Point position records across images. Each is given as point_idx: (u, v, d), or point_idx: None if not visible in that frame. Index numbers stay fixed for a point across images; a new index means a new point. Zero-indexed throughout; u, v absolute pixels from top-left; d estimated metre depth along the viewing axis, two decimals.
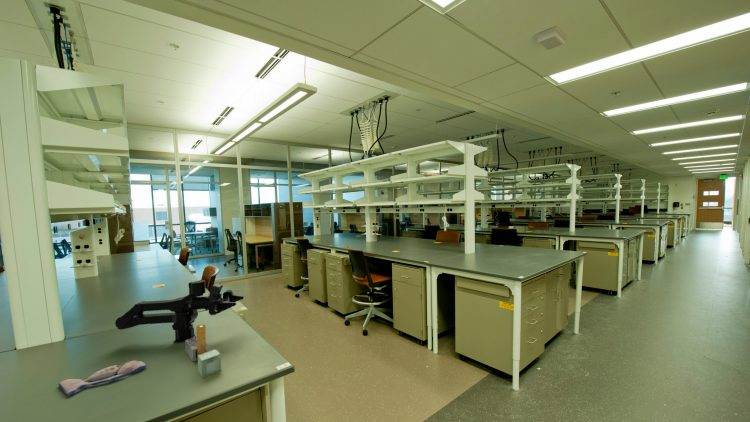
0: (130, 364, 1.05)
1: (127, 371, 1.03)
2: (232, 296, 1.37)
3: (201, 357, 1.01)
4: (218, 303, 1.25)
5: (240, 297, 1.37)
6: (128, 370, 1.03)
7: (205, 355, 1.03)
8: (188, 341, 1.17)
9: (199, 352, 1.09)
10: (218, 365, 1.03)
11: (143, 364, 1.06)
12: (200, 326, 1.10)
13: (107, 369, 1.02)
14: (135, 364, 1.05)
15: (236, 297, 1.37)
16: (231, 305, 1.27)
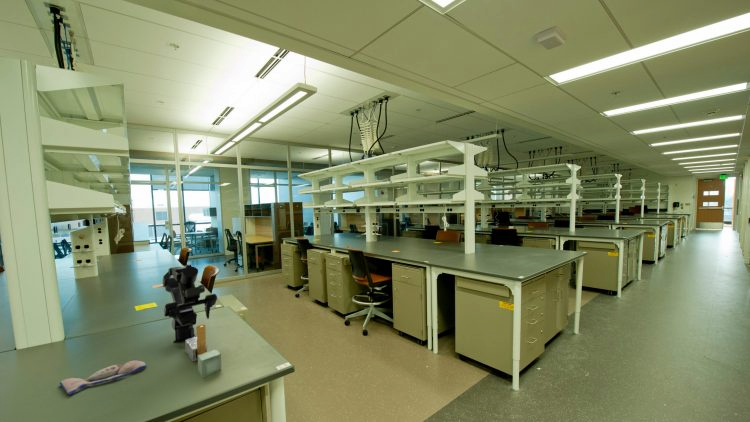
0: (131, 364, 1.05)
1: (127, 371, 1.03)
2: (206, 306, 1.21)
3: (201, 357, 1.01)
4: (172, 311, 1.13)
5: (207, 315, 1.19)
6: (128, 370, 1.03)
7: (205, 355, 1.03)
8: (188, 341, 1.17)
9: (199, 352, 1.09)
10: (218, 365, 1.03)
11: (143, 364, 1.06)
12: (200, 326, 1.10)
13: (108, 368, 1.02)
14: (135, 364, 1.05)
15: (206, 311, 1.21)
16: (179, 322, 1.13)
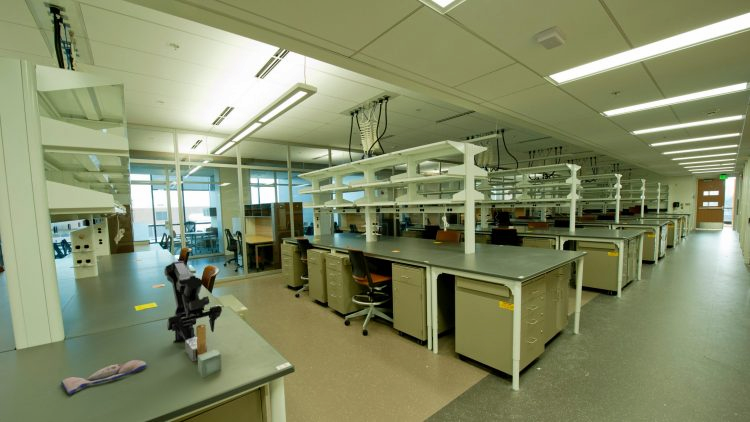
0: (131, 363, 1.05)
1: (128, 370, 1.03)
2: (211, 319, 1.17)
3: (201, 357, 1.01)
4: (175, 325, 1.08)
5: (211, 328, 1.15)
6: (129, 369, 1.03)
7: (205, 355, 1.03)
8: (188, 341, 1.17)
9: (199, 352, 1.09)
10: (218, 365, 1.03)
11: (144, 363, 1.06)
12: (200, 326, 1.10)
13: (108, 368, 1.03)
14: (135, 364, 1.05)
15: (211, 324, 1.16)
16: (183, 336, 1.08)
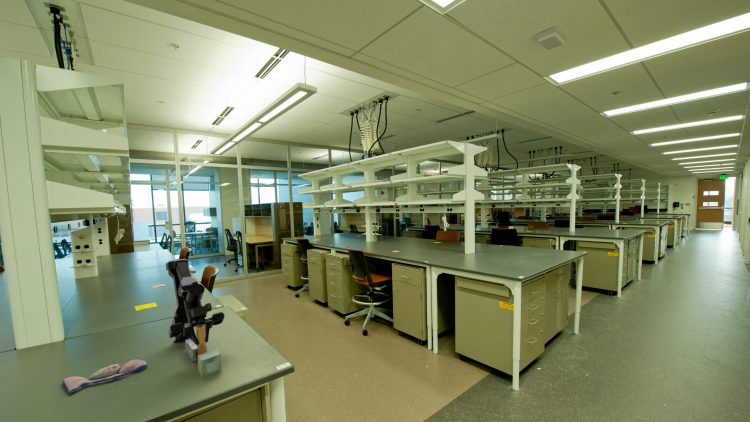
0: (132, 363, 1.06)
1: (128, 370, 1.03)
2: None
3: (201, 357, 1.01)
4: (186, 330, 1.08)
5: (206, 338, 1.11)
6: (129, 369, 1.04)
7: (205, 355, 1.03)
8: (188, 341, 1.17)
9: (199, 352, 1.09)
10: (218, 365, 1.03)
11: (144, 363, 1.06)
12: (200, 326, 1.10)
13: (109, 367, 1.03)
14: (136, 363, 1.06)
15: None
16: (194, 342, 1.08)
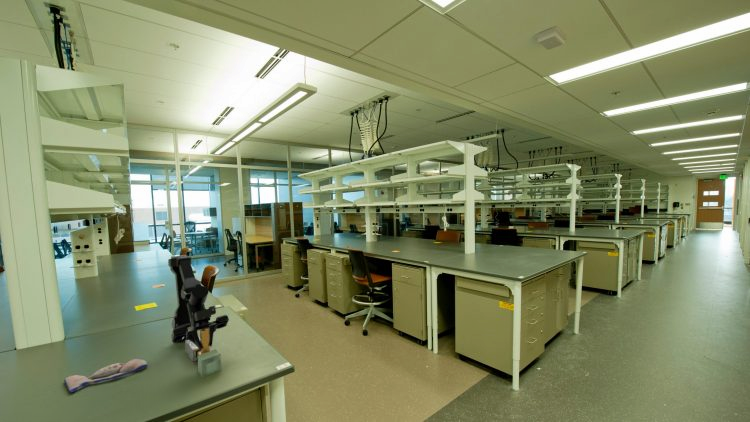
0: (132, 362, 1.06)
1: (129, 369, 1.04)
2: (209, 332, 1.09)
3: (201, 357, 1.01)
4: (189, 334, 1.05)
5: (210, 342, 1.07)
6: (130, 369, 1.04)
7: (205, 355, 1.03)
8: (188, 341, 1.17)
9: None
10: (218, 365, 1.03)
11: (145, 363, 1.07)
12: (204, 330, 1.06)
13: (110, 367, 1.04)
14: (136, 363, 1.06)
15: None
16: (197, 346, 1.05)
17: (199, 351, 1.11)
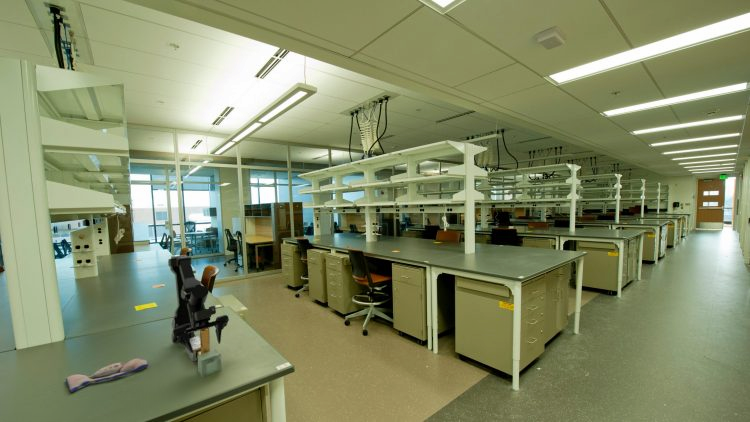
0: (133, 362, 1.06)
1: (129, 369, 1.04)
2: (217, 329, 1.11)
3: (201, 357, 1.01)
4: (180, 336, 1.03)
5: (218, 340, 1.09)
6: (130, 368, 1.04)
7: (205, 355, 1.03)
8: None
9: None
10: (218, 365, 1.03)
11: (145, 363, 1.07)
12: (204, 330, 1.06)
13: (111, 366, 1.04)
14: (137, 363, 1.06)
15: (217, 335, 1.10)
16: (188, 349, 1.03)
17: (199, 351, 1.11)
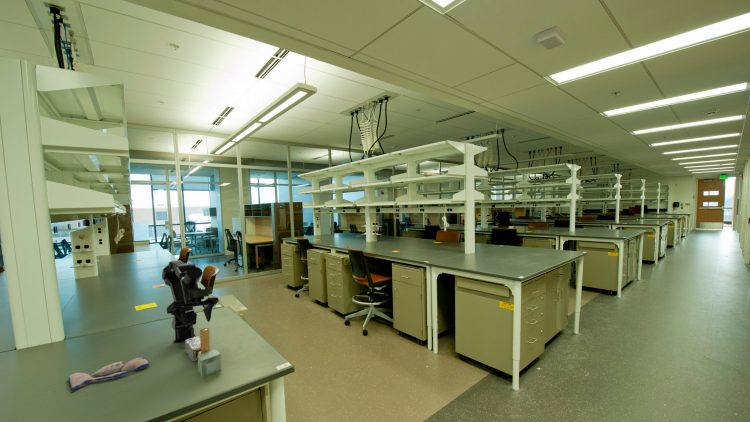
0: (134, 361, 1.07)
1: (130, 368, 1.05)
2: (208, 309, 1.22)
3: (201, 357, 1.01)
4: (178, 309, 1.12)
5: (208, 318, 1.20)
6: (131, 367, 1.05)
7: (205, 355, 1.03)
8: (188, 341, 1.17)
9: None
10: (218, 365, 1.03)
11: (146, 362, 1.07)
12: (204, 330, 1.06)
13: (113, 365, 1.05)
14: (138, 362, 1.07)
15: (207, 313, 1.21)
16: (183, 322, 1.12)
17: (199, 351, 1.11)
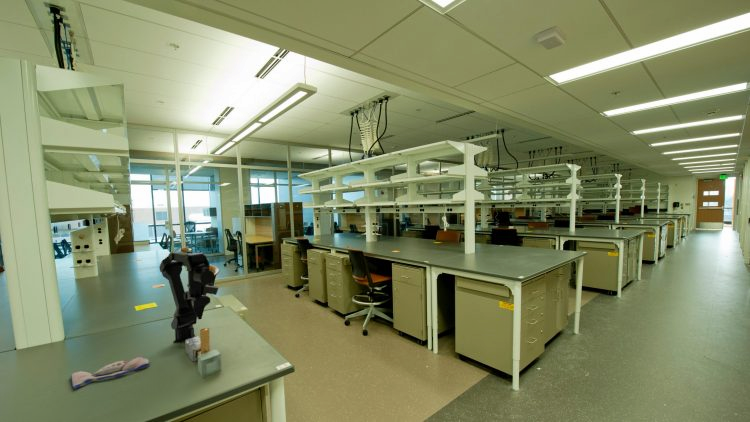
0: (135, 361, 1.07)
1: (131, 368, 1.05)
2: None
3: (201, 357, 1.01)
4: (205, 304, 1.19)
5: (195, 311, 1.27)
6: (132, 367, 1.05)
7: (205, 355, 1.03)
8: (188, 341, 1.17)
9: None
10: (218, 365, 1.03)
11: (147, 362, 1.07)
12: (204, 330, 1.06)
13: (114, 364, 1.05)
14: (139, 361, 1.07)
15: None
16: (199, 315, 1.19)
17: (199, 351, 1.11)
